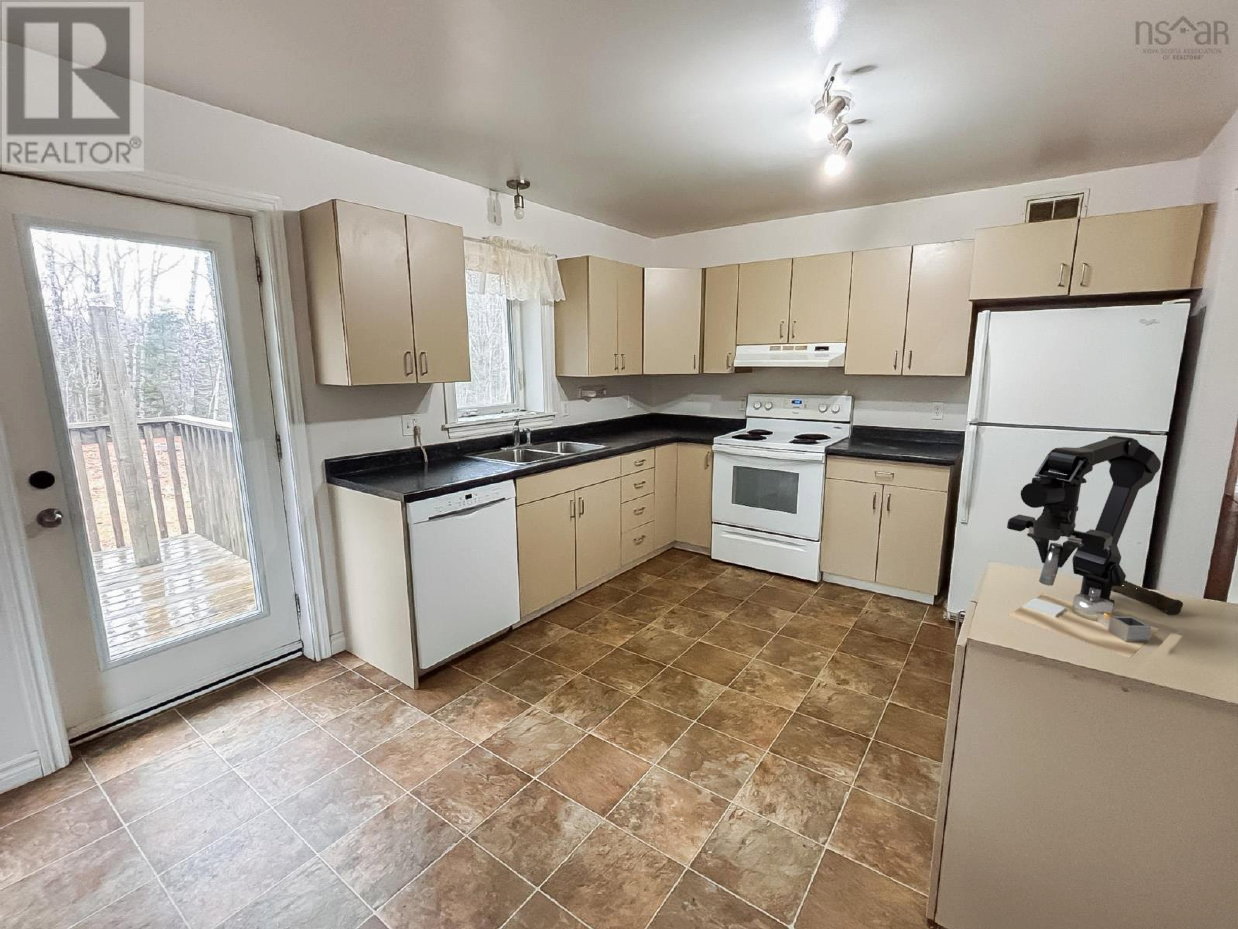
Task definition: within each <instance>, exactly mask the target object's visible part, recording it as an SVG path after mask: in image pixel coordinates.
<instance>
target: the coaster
mask: <svg viewBox="0 0 1238 929" xmlns="http://www.w3.org/2000/svg"><path fill="white" fill-rule="evenodd" d="M1023 606H1024V607H1025V608H1028V609H1031V610H1034V611H1037V612H1040V613H1043V614H1047V615H1050V616H1053V617H1056V616H1058V615H1059V614H1060V613H1062V612H1063V611H1065V610H1066V607H1063V606H1060V605H1056V604H1053V603H1050V602H1047V601H1043V600H1040V599H1037V597H1034V598H1033V599H1031V600H1029V601H1028V602H1026V603H1024V604H1023Z"/></svg>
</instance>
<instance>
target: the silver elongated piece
mask: <svg viewBox="0 0 1238 929" xmlns="http://www.w3.org/2000/svg"><path fill="white" fill-rule="evenodd" d="M1100 593H1101V589H1099V588H1095V587H1090V590H1089V595H1087V594H1080V593H1078V594H1075V595H1074V596H1073V602H1072V603H1073V606H1072V612H1073V613H1075V614H1076V615H1078V616H1080V617H1083V618H1085V619H1089V620H1093V621H1098V622H1099V623H1101V624H1103V625H1104V626H1106V627H1108V631H1109V632H1111V633H1112V634H1114V635H1116V636H1117V637H1119V638H1121V639H1122V640H1124V641H1125V642H1145V643H1148V642H1149V640H1150V639H1149V635H1150V631H1151V627H1152V626H1151V625H1148V624H1146V623H1145V622H1143V621H1141V620H1139V619H1138V618H1135V617H1134V616H1118V617H1115V616H1116V615H1115V614H1112V613H1113V608H1114V603H1113V604H1112V603H1111V602H1110V601H1108V600H1106V599H1104V598H1101V597H1100ZM1114 615H1115V616H1114ZM1150 626H1151V627H1150Z"/></svg>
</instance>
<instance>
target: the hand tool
mask: <svg viewBox="0 0 1238 929" xmlns="http://www.w3.org/2000/svg"><path fill="white" fill-rule="evenodd" d="M1122 585H1124V586H1122ZM1122 585H1121V586H1112V590H1111V592H1113V593H1121V594H1122V595H1125V596H1127V597H1130V598H1133V599H1136V600H1138V601H1140V602H1143V603H1145V604H1147V605H1149V606H1152V607H1153V608H1154V607H1155V608H1156V609H1158V610H1161V611H1164V612H1167V615H1168V616H1174V615H1175V616H1176V615H1178V614H1180V613H1181V612H1182V608H1183V607H1184V606H1183V605H1184V602H1183V601H1181V600H1180V599H1175V598H1171V597H1168V596H1166V595H1165V594H1161V593H1159V592H1156V591H1153V590H1150V589H1147V588H1145V587H1142V586H1140V585H1137V584H1135V583H1132V582H1130V581H1128V580H1125V581H1124V583H1123V584H1122ZM1136 588H1137V589H1136ZM1149 590H1150V591H1149Z"/></svg>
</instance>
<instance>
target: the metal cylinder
mask: <svg viewBox="0 0 1238 929" xmlns="http://www.w3.org/2000/svg"><path fill="white" fill-rule="evenodd" d="M1062 550H1063V544H1061V543H1058V542H1057V543H1056V542H1049V547H1048V553H1047V556H1046V559H1045V562H1044V563H1043V567H1042V569H1041V573H1040V576H1039V580H1038V582H1039V583H1041V584H1042V585H1044V586H1047V587H1048V586H1053V585H1054V583H1055V581H1056V577H1057V574H1058V571H1059V561H1060V557H1061V554H1062Z"/></svg>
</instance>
